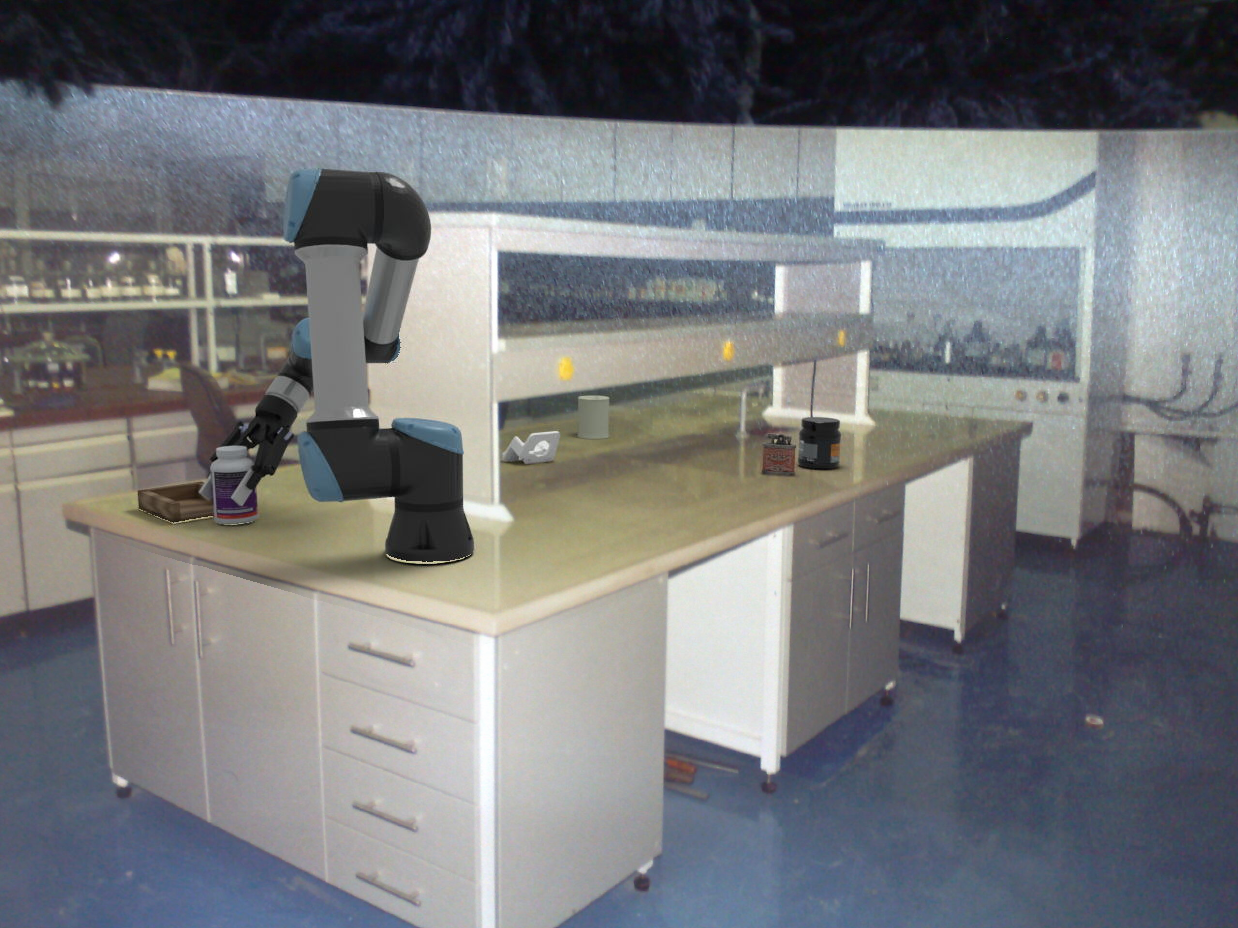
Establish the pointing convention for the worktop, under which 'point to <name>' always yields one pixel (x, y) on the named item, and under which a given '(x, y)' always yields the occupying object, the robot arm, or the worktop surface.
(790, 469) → the lighter
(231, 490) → the pill bottle
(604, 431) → the can
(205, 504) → the slot tray
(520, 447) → the mounting bracket
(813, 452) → the supplement container
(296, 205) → the robot arm
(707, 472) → the worktop surface
